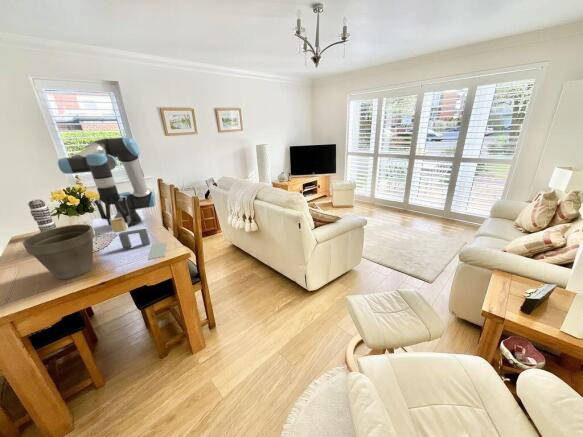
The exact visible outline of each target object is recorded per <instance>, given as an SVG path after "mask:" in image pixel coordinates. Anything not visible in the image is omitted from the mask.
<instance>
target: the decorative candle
mask: <svg viewBox="0 0 583 437" xmlns="http://www.w3.org/2000/svg"><path fill="white" fill-rule="evenodd" d="M27 205H28V207H29V209H30V210H29V212H30V214H31V217H33V219H34V221H35V222H36V224H37V226H38V227H37V228H38V229H39V231H40V233H41V232H44V231H47V230H50V229H54V228H57V225H56V223H55V222H54V220H53V219H52V218H53V216H52V217H50V216H51V215H50V214H51V211H50V209H49V206H47V205H46V203H45V201H44V200H43V199H33V200H30V201H28V203H27Z"/></svg>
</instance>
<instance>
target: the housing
mask: <svg viewBox="0 0 583 437" xmlns="http://www.w3.org/2000/svg"><path fill="white" fill-rule="evenodd" d="M135 234H136V235H137V234H139V239H140V240H141V245H142V246H143V247H144V246H150V244H151V241H150V237H149V234H148V230H147V228H140V229H133V230H128V231H122V232H118V238H119V240H120V244H121V246H122V249H123V250H128V249H131V248H132V247H133V246H132V243H131V239H130V237H129V235H135Z"/></svg>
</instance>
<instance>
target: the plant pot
mask: <svg viewBox="0 0 583 437" xmlns="http://www.w3.org/2000/svg"><path fill="white" fill-rule="evenodd" d="M94 237H95V232H94V228H93V226H92V225H90V224H83V223H82V224H70V225H64V226H59V227H56V228H54V229H50V230H47V231H44V232H41V231H40V232H38V233H35V234H33V235H31V236H29V237H27V238H25V239H24V241H23V242H22V245H23V247H24V248H25V250H26V252H27V253H28V255H29V254H30V255H32V256H33V257H35V259H36V260H37V261H38V262H40V264H42V266H44V268H46V270H48V271H49V273H50V274H52V275H53V276H54V277H55V278H57V280H58V279H59V280H69V279H70V280H71V279H72V278H73V279H74V278H76V277H79V276H82V275H84V274H86V273H88V272H89V271H91V269H92V268H93V265H94Z"/></svg>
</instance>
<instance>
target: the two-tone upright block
mask: <svg viewBox="0 0 583 437" xmlns="http://www.w3.org/2000/svg"><path fill="white" fill-rule="evenodd" d="M124 212H125V211H124ZM125 213H126V212H125ZM122 217H123V216H122V215H121V213H120V212H118V213H117V212H116V215H115V216H114V218H113V220H112V221H111V224H112V226H111V228H112V227H113V229H114V231H113V232H114V233H121V232H126V230H125V227H124V224H123V221H122ZM127 219H128V223H127V226H128V225H129V223H130V221H131V218H130V215H129V216H127ZM128 227H129V226H128ZM113 229H112V230H113Z"/></svg>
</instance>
